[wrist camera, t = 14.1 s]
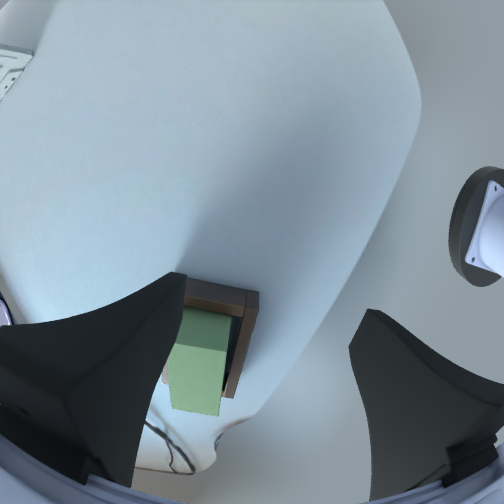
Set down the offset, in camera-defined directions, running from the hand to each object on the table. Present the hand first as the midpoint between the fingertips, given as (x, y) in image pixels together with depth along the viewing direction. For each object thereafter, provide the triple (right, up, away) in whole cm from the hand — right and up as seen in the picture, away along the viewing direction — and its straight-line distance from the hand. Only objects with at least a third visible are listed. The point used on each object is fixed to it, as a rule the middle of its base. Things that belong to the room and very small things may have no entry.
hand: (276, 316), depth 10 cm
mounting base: (-5, -5, +13) cm, 15 cm away
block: (-5, -5, +13) cm, 15 cm away
